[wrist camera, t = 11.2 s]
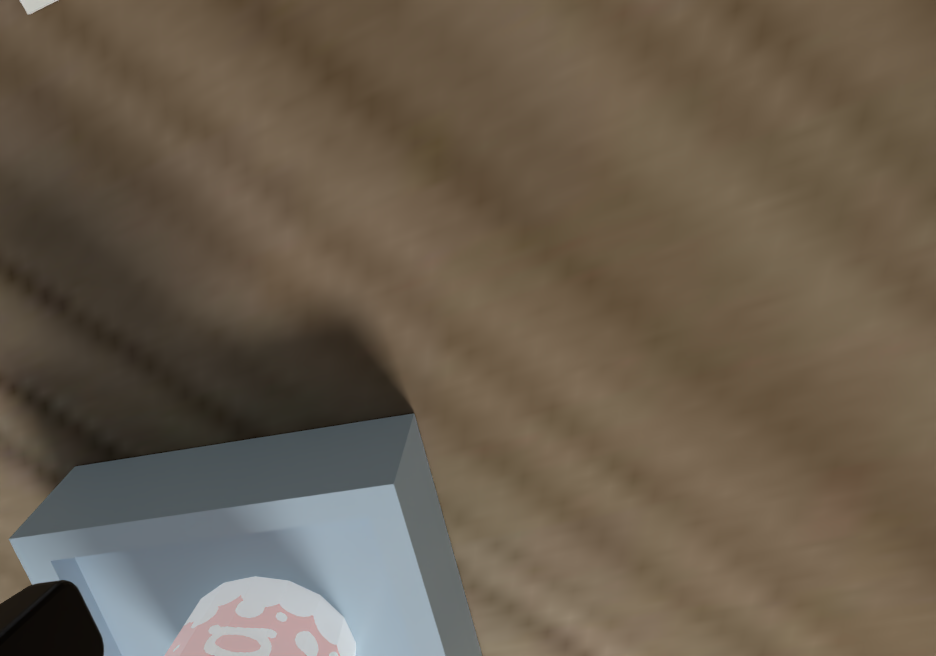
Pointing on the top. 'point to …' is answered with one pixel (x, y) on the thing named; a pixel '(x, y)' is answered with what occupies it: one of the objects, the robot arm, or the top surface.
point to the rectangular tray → (260, 536)
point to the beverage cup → (263, 622)
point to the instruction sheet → (35, 5)
